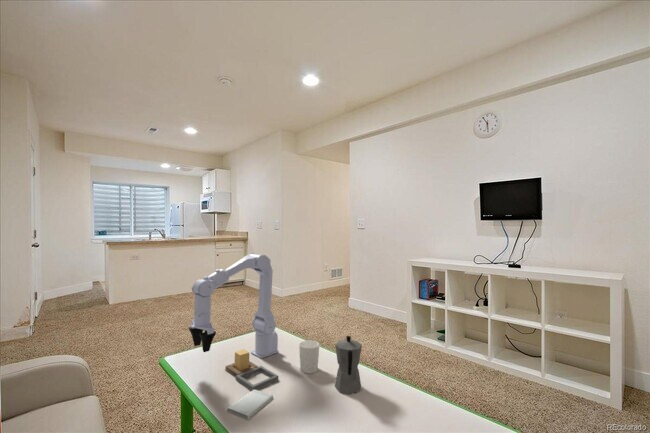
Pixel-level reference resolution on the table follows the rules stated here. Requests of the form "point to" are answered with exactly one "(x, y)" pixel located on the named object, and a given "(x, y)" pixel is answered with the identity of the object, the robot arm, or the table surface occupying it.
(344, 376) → the coffeepot
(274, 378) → the gray square frame
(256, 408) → the hard drive
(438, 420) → the table surface
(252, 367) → the socket block
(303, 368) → the white cup
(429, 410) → the table surface
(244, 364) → the peg
